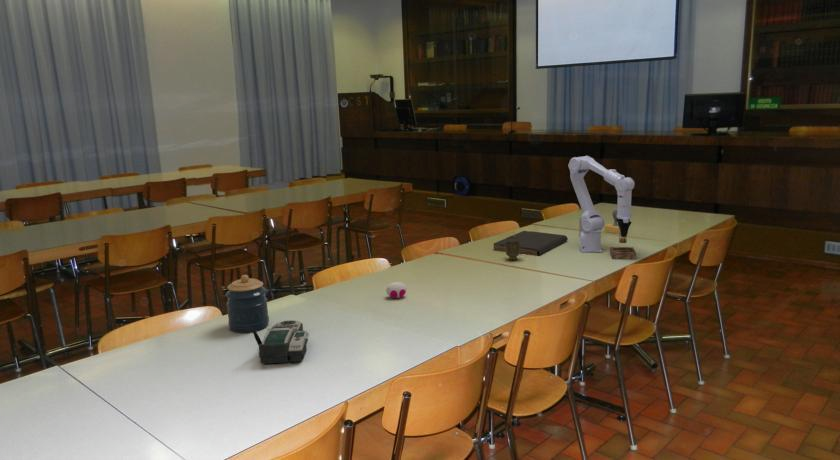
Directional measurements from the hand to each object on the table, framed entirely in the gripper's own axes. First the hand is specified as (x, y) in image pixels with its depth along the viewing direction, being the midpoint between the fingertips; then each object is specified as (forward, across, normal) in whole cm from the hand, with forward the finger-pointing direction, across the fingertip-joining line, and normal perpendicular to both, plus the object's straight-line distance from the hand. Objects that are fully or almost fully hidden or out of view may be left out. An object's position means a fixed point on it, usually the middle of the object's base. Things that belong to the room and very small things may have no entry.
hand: (623, 235), depth 276 cm
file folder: (+10, +19, +40) cm, 46 cm away
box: (+9, 0, 0) cm, 9 cm away
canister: (+10, -99, +131) cm, 164 cm away
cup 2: (+10, +39, +12) cm, 42 cm away
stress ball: (+10, -66, +88) cm, 110 cm away
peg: (+3, 0, 0) cm, 3 cm away
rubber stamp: (+10, +51, -3) cm, 52 cm away
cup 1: (+10, -8, +48) cm, 50 cm away
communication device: (+10, -114, +112) cm, 160 cm away
